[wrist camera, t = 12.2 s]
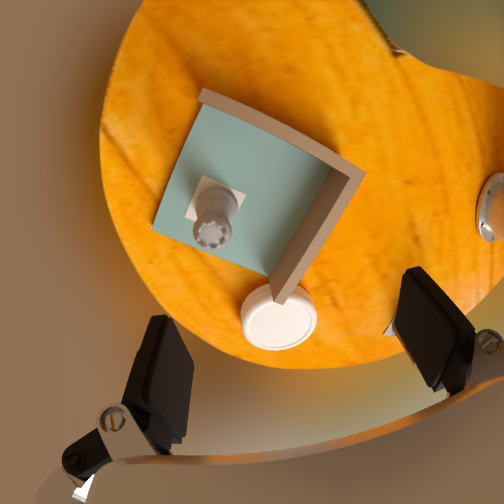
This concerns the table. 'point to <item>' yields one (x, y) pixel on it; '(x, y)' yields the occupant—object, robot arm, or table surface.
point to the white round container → (277, 318)
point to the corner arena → (259, 190)
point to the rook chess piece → (214, 217)
